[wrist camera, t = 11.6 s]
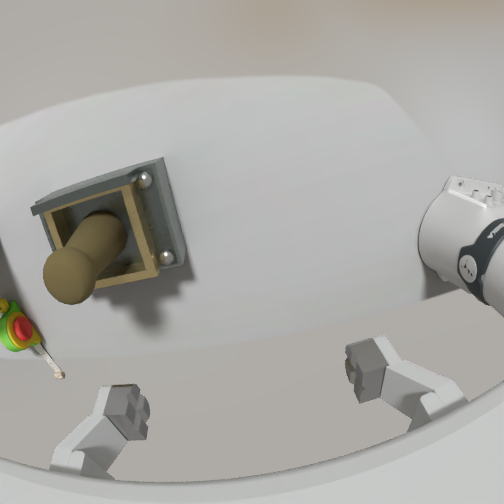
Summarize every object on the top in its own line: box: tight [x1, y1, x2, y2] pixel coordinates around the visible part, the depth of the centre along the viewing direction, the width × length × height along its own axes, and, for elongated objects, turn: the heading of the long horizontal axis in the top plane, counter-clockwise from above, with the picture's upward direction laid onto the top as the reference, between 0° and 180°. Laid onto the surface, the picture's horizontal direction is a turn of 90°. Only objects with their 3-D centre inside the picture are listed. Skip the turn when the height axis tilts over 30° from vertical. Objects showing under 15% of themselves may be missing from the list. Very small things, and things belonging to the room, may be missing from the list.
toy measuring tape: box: [0, 299, 65, 379], centre depth 39 cm, size 6×19×7 cm, turn 16°
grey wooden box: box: [30, 157, 186, 289], centre depth 32 cm, size 16×12×9 cm
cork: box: [43, 211, 126, 305], centre depth 27 cm, size 6×6×11 cm
